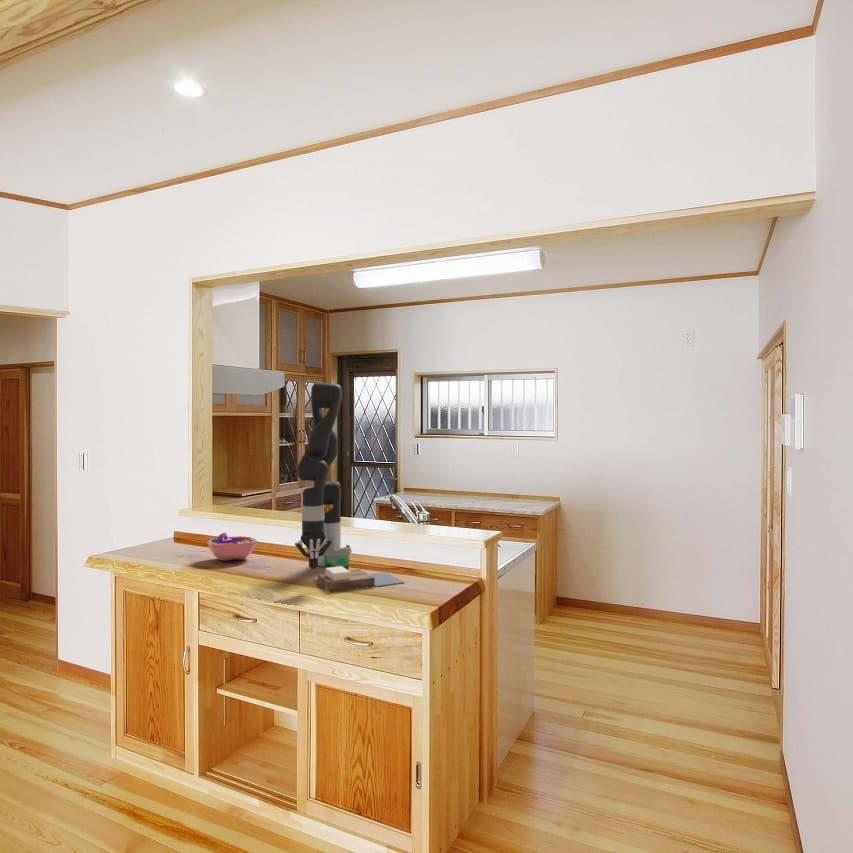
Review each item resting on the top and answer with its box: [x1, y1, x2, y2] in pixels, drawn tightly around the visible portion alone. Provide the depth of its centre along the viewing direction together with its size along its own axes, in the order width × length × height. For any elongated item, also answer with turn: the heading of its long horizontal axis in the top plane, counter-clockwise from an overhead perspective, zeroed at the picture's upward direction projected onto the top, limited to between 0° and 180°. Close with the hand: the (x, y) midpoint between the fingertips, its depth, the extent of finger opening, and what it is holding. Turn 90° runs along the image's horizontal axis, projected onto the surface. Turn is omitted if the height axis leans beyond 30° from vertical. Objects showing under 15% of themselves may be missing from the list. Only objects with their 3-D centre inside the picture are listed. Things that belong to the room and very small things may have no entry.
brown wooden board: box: [317, 568, 375, 593], centre depth 221 cm, size 14×16×3 cm
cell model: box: [206, 532, 258, 562], centre depth 259 cm, size 17×20×11 cm
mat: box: [368, 571, 405, 588], centre depth 227 cm, size 16×11×1 cm
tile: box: [325, 566, 350, 581], centre depth 220 cm, size 9×6×2 cm, turn 27°
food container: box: [323, 544, 352, 572], centre depth 235 cm, size 12×6×10 cm, turn 139°
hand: (313, 568), depth 215 cm, fingers closed
